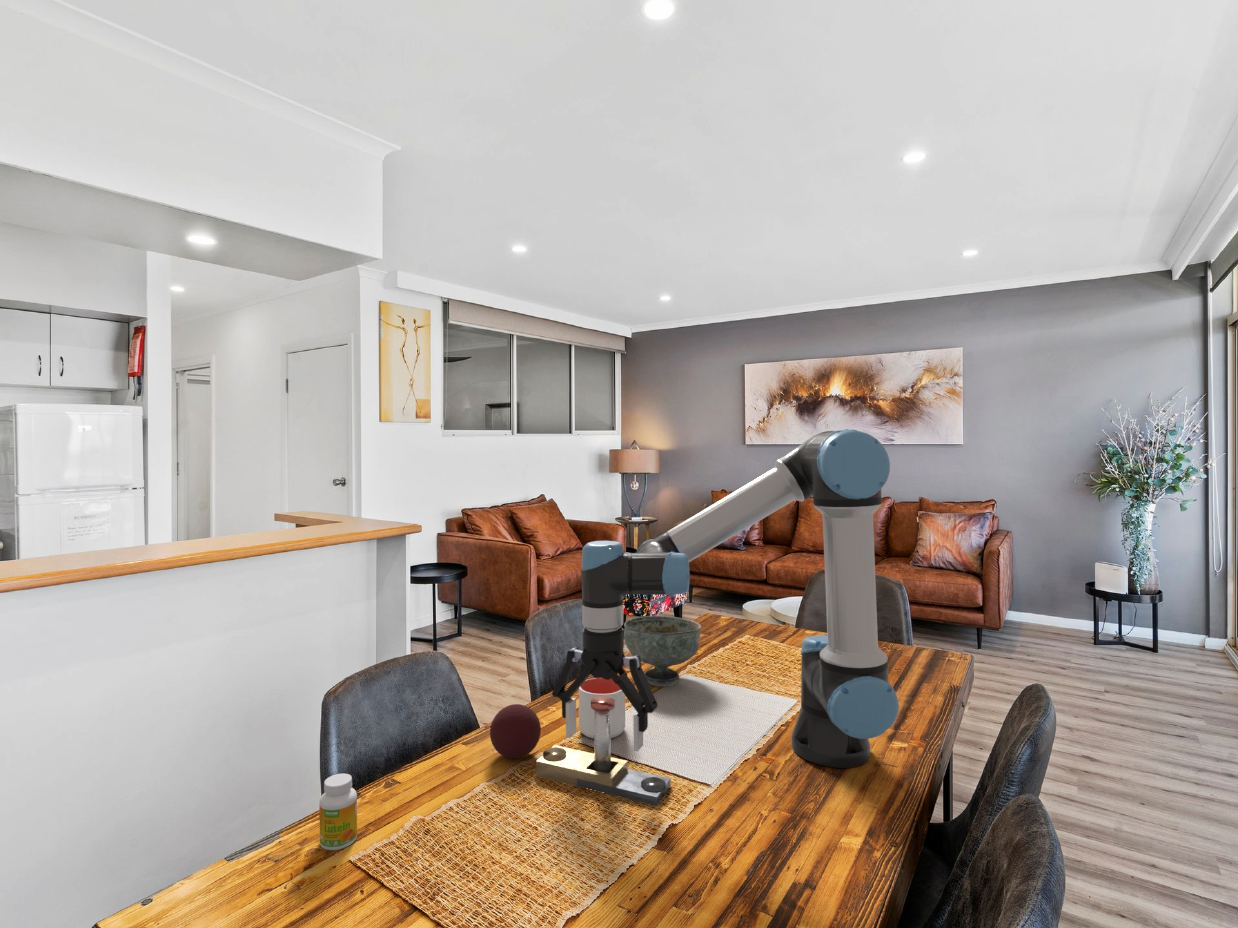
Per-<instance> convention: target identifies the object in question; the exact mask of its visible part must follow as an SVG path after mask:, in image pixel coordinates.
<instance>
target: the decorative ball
mask: <svg viewBox="0 0 1238 928" xmlns="http://www.w3.org/2000/svg"><path fill="white" fill-rule="evenodd" d="M541 726H542V725H541V722H540V719H539V716H538V714H537V713H535V711H534V710H533V709H531V708H530V707H529V706H527V705H523V704H518V703H513V704H509V705H507V706H505V707H503V708H502V709H500V710H499V711H498V712H497V713H496V715H495V716H494V718H493V719H492V721H491V724H490V727H489V728H490V729H489V736H490V742H491V744H492V747H493V748H494V749H495V751H496V752H497V753H498V754H500V755H501V756H502V757H504V758H507V759H520V758H523V757H525V756H528V755H529V754H530V753H531V752H532V751H533V750H534V749H535V748H536V746H537V745H538V743H539V741H540V738H541V733H542V732H541V731H542V729H541Z"/></svg>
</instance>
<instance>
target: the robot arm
mask: <svg viewBox="0 0 1238 928" xmlns="http://www.w3.org/2000/svg"><path fill="white" fill-rule="evenodd" d="M889 457H890V456H889V454H888V452H887V449H886V448H885V447H884V445H883V444H882V443H881V441H880V440H878V438H876V437H875V436H873V435H871V434H869V433H868V432H867V433H866V432H865V431H860V430H857V429H842V430H828V431H827V430H826V431H822V432H819V433H817V434H815V435H813V436H811V437H809V438H808V439H807V440H805V441H803V442H802V443H801V444H800V445H798V446H797V447H795V448H794V449H792V450H790V451H789V452H787V454H785V455H783V456H782V457H780V458H778V459H776V461H775V464H774V467H773V468H772V469H770V470H768V471H766V472H765V473H763V474H762V475H760V476H758V477H757V478H755V479H754V480H751V481H750V482H748V483H746V484H745V485H742V486H741V487H740V488H738V489H736V490H735V491H732V492H731V493H729V494H728V495H727V496H724V497H723V498H722V499H720V500H718V501H716V502H715V503H713V504H711V505H709V506H708V507H706V508H704V509H703V510H700V512H698V513H696V514H695V515H693V516H691V517H689V518H687V519H686V520H684V521H683V522H681V523H678V525H676V526H674V527H673V528H671V529H669V530H668V531H666V532H665V533H662V534H661V535H659V536H657V537H656V538H653V539H648V540H645V541H644V542H643V543H642V544H640V546H639V547H638V549H637V550H636V552H634V553H633V552H625V551H624V547H623V546H624V545H623V544H622V543H621V542H619V541H615V540H595V541H590V542H587V543H586V544H585V545H584V546H583V547H582V548H581V549H582V551H581V553H582V554H581V555H582V556H581V569H580V570H581V598H582V599H581V600H582V602H581V603H582V612H581V613H582V616H581V617H582V622H581V623H582V626H583V629H582V648H583V649H582V650H580V649H579V648H578V646H574V647H573V648H570V649H569V650H567V653H566V662H565V664H564V666H563V669H562V670H561V673H560V675H559V676H558V680H557V681H556V684H555V685H554V687H553V690H552V692H551V693H552V694H551V695H552V697H553V698H558V699H560V701H561V716H562V718H564V719H565V738H566V739H571V738H572V737H573V736H574V735H575V734H576V733H577V698H576V697H574V695H575V693H576V692H577V691H579V687H580V686H581V685H582V684H583V683H584V682H585V680H588V679H589V677H590V676H592V677H593V678H603V679H606V680H609V679H612V680H613V681H614V683H615V684H618V686H619V687H620V689H621V690H622V691H623V693H624V694H625V698H626V699H627V700H628V702H629V703H630V704H631V706H632V707H633V708H634V710H635V712H634V713H633V716H632V717H633V720H632V722H633V724H632V725H633V751H634V752H637V753H638V752H639V751H640V750H641V748H643V746H644V732H646V731H647V729H648V726H649V724H648V721H649V717H648V715H649V714H652V713H654V711H656V709H657V708H658V706H659V704H658V702H657V699H656V697H655V694H654V692H653V691H652V688H651V684H649V683H648V681H647V679H646V677H645V674H644V673H645V672H644V671H643V668H642V662H641V659H640V656H639V655H635V656H626V655H625V653H624V643H625V639H624V633H625V628H623V627H622V626H624V595H651V596H652V595H654V596H656V595H657V596H659V595H660V596H661V595H663V596H665V595H666V596H672V595H674V596H675V595H682V594H686V593H688V591H689V589H690V562H692V561H694V560H695V559H697V558H699V557H700V556H702V555H704V554H706V553H708V551H711V550H713V549H714V548H716V547H717V546H720V545H721V544H722V543H724V542H726V541H728V540H729V539H731V538H733V537H734V536H737V535H738V534H739V533H741V532H743V531H744V530H746V529H748V528H750V527H752V526H753V525H755V524H756V523H759V522H760V521H762V520H763V519H765V518H766V517H768V516H771V515H772V514H773V513H775V512H777V511H779V510H781V509H782V508H784V507H785V506H787V505H789V504H791V503H792V502H794V501H797V502H804V501H806V500H808V499H809V498H811V497H812V501H813V505H812V506H813V507H814V508H815V509H816V510H817V511H818V512H819V513H820V514H821V515H822V531H823V533H822V535H823V536H822V537H823V557H824V561H823V562H824V580H825V583H824V584H825V605H826V606H825V609H826V610H825V611H826V630H827V633H826V634H827V635H826V634H825V635H823V634H821V635H820V634H819V635H811V636H807V637H805V638H804V639H803V640H802V644H801V651H800V655H801V663H800V664H801V668H800V669H801V677H800V678H801V679H800V681H801V683H800V685H801V686H800V688H801V689H800V704H801V705H800V710H799V713H798V716H797V720H796V721H795V724H794V726H793V730H792V732H791V748H792V750H793V751H794V753H795V754H796V755H798V756H799V757H800V758H802V759H804V760H806V761H808V762H810V763H813V764H816V765H819V766H823V767H828V768H840V769H845V768H846V769H847V768H854V767H855V768H856V767H860V766H862V765H864V764H866V763H867V762H868V761H869V760H870V758H871V744H870V741H869V739H874V738H876V737H879V736H881V735H883V734H884V733H886V731H887V730H888V729H890V728H891V727H893V725H894V723H895V722H896V720H897V717H898V714H899V711H900V710H899V709H900V704H899V699H898V698H899V697H898V696H897V693H896V691H895V689H894V687H893V686H892V685H891V684H890V682H889V681H890V680H889V664H888V663H889V661H888V659H889V658H888V655H887V654H886V653H885V652H884V651H883V650H882V649H881V648H880V647H879V642H878V641H879V640H878V639H879V638H878V612H877V611H878V610H877V585H876V582H877V581H876V564H875V563H876V562H875V561H876V558H875V533H874V531H875V530H874V514H875V513H876V512H877V511H878V510H879V508H881V506H883V505H882V504H883V502H882V488H883V487H884V486H885V485H886V483H887V481H888V479H889V475H890V472H891V463H890V462H891V461H890V458H889ZM580 660H582V662H583V664H584V665H585V667H584V668H583V670H582V671H581V672H580V673H579V675H578V676H577V677H576V678H575V679H574V681H573V682H572V683H571V684H570V685H569V686H568V687H567V685H568V683H569V680H570V679H571V676H572V674H573V672H574V670H575V668H576V665H577V663H578V662H579V661H580ZM624 665H626V667H627V670H630V671H629V672H630V676H631V678H632V680H633V682H634V683H633V682H632V680H631V679H630V678H629V677H628V673H627V671H626V669H624ZM634 684H635V685H634ZM566 687H567V689H566Z"/></svg>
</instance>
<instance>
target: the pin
mask: <svg viewBox="0 0 1238 928" xmlns="http://www.w3.org/2000/svg"><path fill="white" fill-rule="evenodd" d="M614 707H615V700H614V699H613V698H611V697H605V696H601V697H595V698H593V699H592V700H591V708H592V709H593V710H595V727H594V739H593V740H594V741H593V744H594V749H593V750H594V752H593V754H594V771H598V772H603V773H607V774H609V773H610V772H611V757H612V754H611V753H612V751H611V749H612V748H611V746H612V744H611V742H612V740H611V739H612V738H611V710H612V709H614Z"/></svg>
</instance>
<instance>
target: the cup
mask: <svg viewBox="0 0 1238 928" xmlns="http://www.w3.org/2000/svg"><path fill="white" fill-rule="evenodd" d="M601 696H605V697H611V698H613V699H614V700H615V707H614V709H612V710H611V739H614V738H616V737H619V736H620V735H621V734H622V733H623V732H624V730H625V728H626V696H625V694H624V693H623V691H622V690H621V689H620V687H619V686H618V684H615V683H614V681H613V680H612V679H609V680H606V679H603V678H594V677H593V678H587V679H586V680H585V682H584V683H583V684H582V685H581V686H580V687H579V689H578V729H579V731H580V733H582V735H584V736H585V737H587V738H589V739H593V740H594V727H595V710H593V709H592V708H591V700H592V699H593V698H595V697H601Z"/></svg>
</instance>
